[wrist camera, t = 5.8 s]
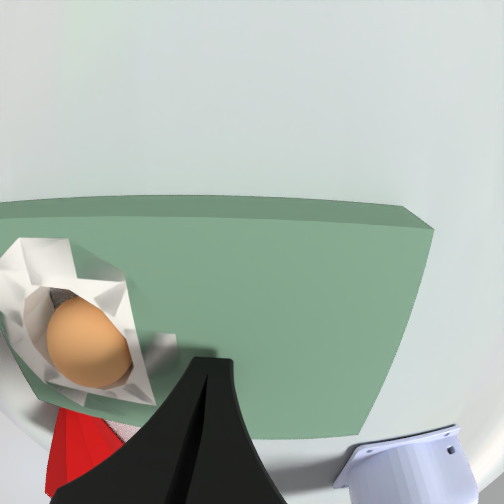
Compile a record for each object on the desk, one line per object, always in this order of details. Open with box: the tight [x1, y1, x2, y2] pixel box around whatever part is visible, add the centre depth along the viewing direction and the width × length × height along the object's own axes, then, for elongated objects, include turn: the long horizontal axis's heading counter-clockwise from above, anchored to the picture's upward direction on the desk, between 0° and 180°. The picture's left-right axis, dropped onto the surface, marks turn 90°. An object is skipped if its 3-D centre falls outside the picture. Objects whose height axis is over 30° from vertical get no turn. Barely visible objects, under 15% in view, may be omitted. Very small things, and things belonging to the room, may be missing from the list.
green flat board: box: [0, 195, 434, 440], centre depth 12 cm, size 18×11×2 cm, turn 88°
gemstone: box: [45, 407, 124, 499], centre depth 15 cm, size 9×9×10 cm
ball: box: [46, 296, 132, 388], centre depth 11 cm, size 4×4×4 cm
